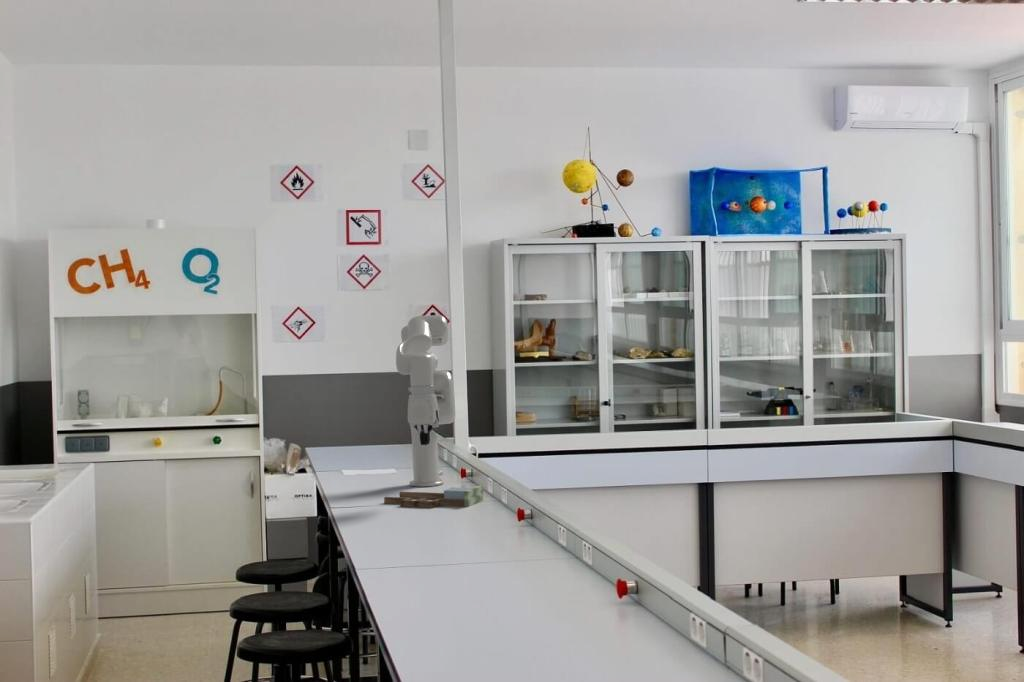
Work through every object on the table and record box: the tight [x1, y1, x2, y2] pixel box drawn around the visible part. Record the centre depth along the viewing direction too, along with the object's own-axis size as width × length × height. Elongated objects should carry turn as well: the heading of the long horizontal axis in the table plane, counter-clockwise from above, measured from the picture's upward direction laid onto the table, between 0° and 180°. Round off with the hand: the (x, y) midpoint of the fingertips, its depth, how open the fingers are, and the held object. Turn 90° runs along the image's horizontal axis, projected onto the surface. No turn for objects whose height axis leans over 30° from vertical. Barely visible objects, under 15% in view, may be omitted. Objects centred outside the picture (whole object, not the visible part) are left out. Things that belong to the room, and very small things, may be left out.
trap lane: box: [383, 485, 485, 509], centre depth 370 cm, size 16×32×5 cm, turn 66°
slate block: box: [443, 487, 472, 500], centre depth 367 cm, size 6×8×5 cm
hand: (425, 444), depth 374 cm, fingers closed
